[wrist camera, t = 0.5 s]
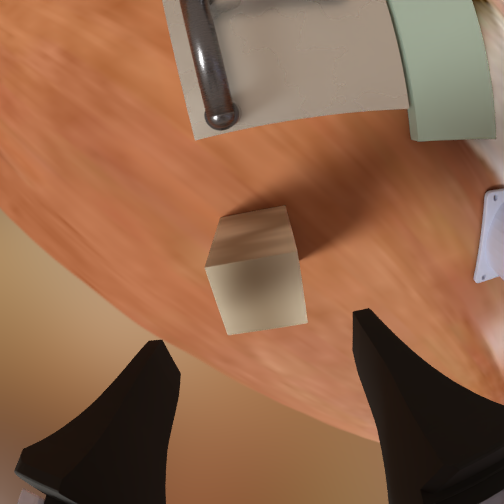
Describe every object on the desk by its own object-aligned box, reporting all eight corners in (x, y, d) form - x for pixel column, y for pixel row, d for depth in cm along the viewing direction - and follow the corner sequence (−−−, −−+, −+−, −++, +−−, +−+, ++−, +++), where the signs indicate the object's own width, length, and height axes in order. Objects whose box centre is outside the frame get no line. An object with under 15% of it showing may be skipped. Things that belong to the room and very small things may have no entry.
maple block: (285, 205, 18) (297, 251, 12) (295, 262, 19) (307, 322, 14) (220, 217, 18) (204, 267, 13) (235, 272, 20) (227, 335, 15)
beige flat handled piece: (363, -36, 10) (392, -67, 6) (400, 107, 14) (443, 112, 10) (164, -10, 11) (136, -41, 7) (199, 138, 16) (177, 150, 12)
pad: (447, -40, 8) (454, -43, 7) (487, 136, 15) (496, 139, 14) (361, -57, 9) (366, -63, 8) (410, 139, 15) (418, 141, 14)
